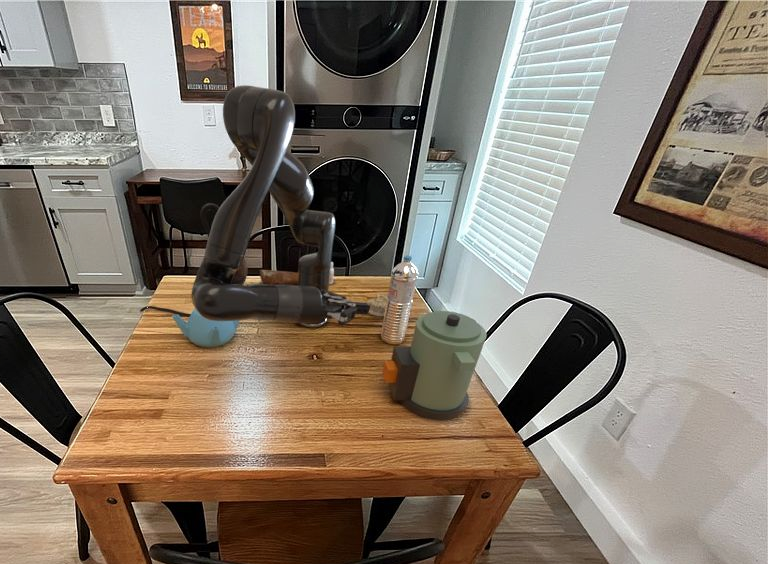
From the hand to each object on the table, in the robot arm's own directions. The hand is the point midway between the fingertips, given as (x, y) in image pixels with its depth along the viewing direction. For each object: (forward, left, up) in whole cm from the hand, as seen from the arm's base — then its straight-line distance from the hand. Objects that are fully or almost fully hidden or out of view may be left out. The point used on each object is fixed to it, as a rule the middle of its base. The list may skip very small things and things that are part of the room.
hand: (367, 308), depth 84 cm
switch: (+6, -5, -15) cm, 17 cm away
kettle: (+16, -4, -21) cm, 26 cm away
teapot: (-39, +22, -21) cm, 50 cm away
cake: (+14, +40, -21) cm, 47 cm away
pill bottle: (-1, +62, -21) cm, 65 cm away
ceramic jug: (-39, +54, -21) cm, 70 cm away
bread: (-17, +61, -21) cm, 66 cm away
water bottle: (+14, +21, -21) cm, 33 cm away
